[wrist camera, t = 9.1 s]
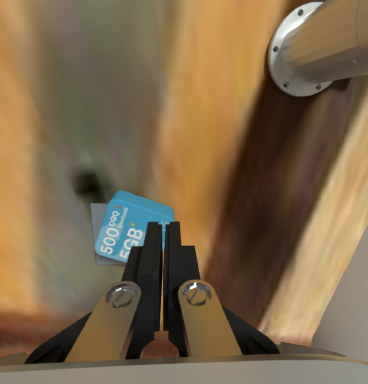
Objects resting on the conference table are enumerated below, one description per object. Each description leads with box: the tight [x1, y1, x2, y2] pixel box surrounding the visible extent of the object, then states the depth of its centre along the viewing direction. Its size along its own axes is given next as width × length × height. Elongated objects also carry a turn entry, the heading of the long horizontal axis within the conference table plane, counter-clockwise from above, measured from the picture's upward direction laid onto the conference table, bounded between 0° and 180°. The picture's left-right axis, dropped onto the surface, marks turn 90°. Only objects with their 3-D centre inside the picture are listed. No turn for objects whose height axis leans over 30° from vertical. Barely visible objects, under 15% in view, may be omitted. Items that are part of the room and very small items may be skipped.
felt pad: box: [90, 203, 126, 265], centre depth 44 cm, size 13×14×1 cm
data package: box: [95, 191, 174, 263], centre depth 41 cm, size 12×4×12 cm
